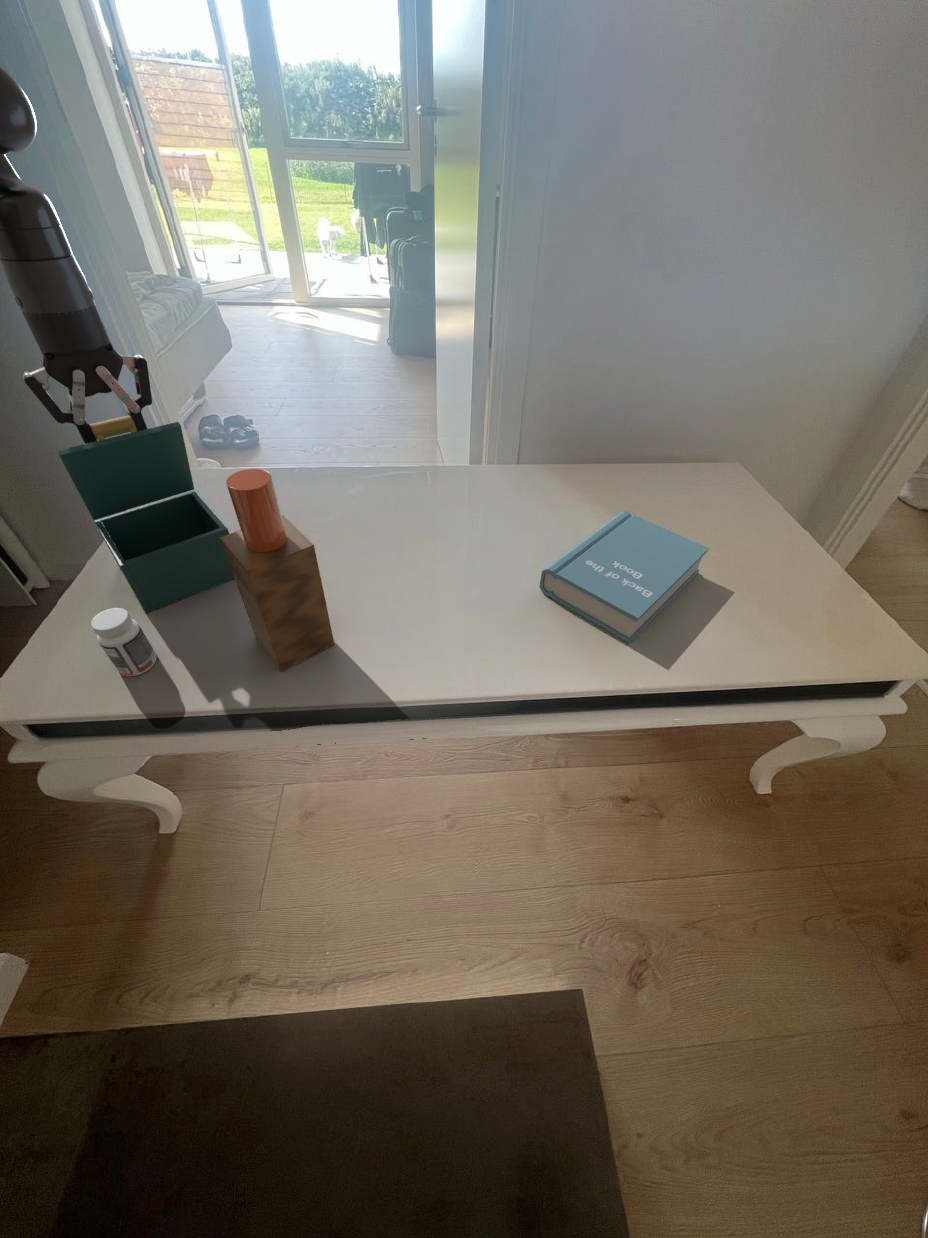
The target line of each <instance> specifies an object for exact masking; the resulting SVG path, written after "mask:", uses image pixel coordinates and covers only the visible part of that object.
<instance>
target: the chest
mask: <svg viewBox="0 0 928 1238" xmlns="http://www.w3.org/2000/svg"><path fill="white" fill-rule="evenodd" d="M93 522H94V524H95V525H96V527H97V529H98V532H99V533H100V535H101V536H102V538H103V540H104V542H105V544H106V545H107V548H108V549H109V551H110V553H111V555H112V556H113V559H114V560H115V563H116V564H117V566H118V568H119V570H120V571H121V573H122V575H123V577H124V578H125V580H126V582H127V584H128V585H129V587H130V589H131V591H132V592H133V594H134V596H135V598H136V599H137V601H138V603H139V604H140V606H141V608H142V610H143V612H144V613H145V614H146V615H147V614H149V613H152V612H154V611H157V610H159V609H161V608H164V607H166V606H169V605H172V604H174V603H177V602H180V601H182V600H184V599H187V598H190V597H192V596H194V595H197V594H199V593H202V592H204V591H206V590H210V589H212V588H214V587H217V586H220V585H222V584H224V583H226V582H229V581H231V580H235V579H234V577H233V574H232V571H231V568H230V565H229V563H228V560H227V557H226V554H225V551H224V549H223V546H222V543H221V540H220V537H222V536H225V535H228V534H230V532H229V529H228V527H227V526H226V525H225V523H223V521H222V520H221V519H220V518H219V517H218V516H217V514H215V512H214V511H213V510H212V508H210V506H208V504H207V503H206V502H205V500H203V499H202V497H201V496H200V495H199V494H198V493H197V492H196V490H191V491H188V492H185V493H181V494H178V495H175V496H171V497H168V498H165V499H162V500H158V501H155V502H152V503H148V504H145V505H142V506H139V507H135V508H132V509H129V510H125V511H122V512H119V513H116V514H112V515H109V516H106V517H102V518H99V519H96V520H93Z"/></svg>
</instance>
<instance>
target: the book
mask: <svg viewBox="0 0 928 1238" xmlns="http://www.w3.org/2000/svg"><path fill="white" fill-rule="evenodd" d="M709 548H710V547H707V546H705V545H703V544H701V543H698V542H696V541H694V540H692V539H689V538H687V537H685V536H683V535H680V534H679V533H676V532H674V531H671V530H670V529H666V528H665V527H662V526H660V525H658V524H655V523H654V522H651V521H649V520H647V519H644V518H642V517H640V516H637V515H635V514H633V515H632V514H631V512H628V511H627V510H625V511H622V512H619V513H618V514H616V515H615V516H614V517H613V518H610V520H608V521H607V522H606V523H604V524H603V525H602V526H601V527H599V528H598V529H597V530H595V531H594V532H592V533H590V534H589V535H588V536H587V537H585V538H584V539H583V540H582V541H580V542H579V543H578V544H576V545H575V546H573V547H571V549H570V550H568V551H567V552H565V553H564V554H563V555H561V556H560V557H558V558H557V559H555V560H554V561H553V562H552V563H551V564H549V565H548V566H546V567H545V568H544V569H542V570H541V575H540V581H539V586H538V587H539V589H540V591H541V592H542V594H543V595H544V596H546V597H547V598H549V597H550V598H551V600H552V601H554V602H556V603H558V604H560V605H561V606H563V607H565V608H567V609H569V610H570V611H572V612H573V613H575V614H577V615H578V616H580V617H582V618H584V619H586V620H587V621H589V622H591V623H592V624H594V625H596V626H597V627H599V628H601V629H603V630H605V631H606V632H608V633H609V634H611V635H613V636H615V637H616V638H618V639H620V640H622V641H624V642H626V643H627V644H630V643H631V642H632V641H633V640H634V639H635V638H636V637H637V636H638V635H639V634H640V633H641V632H642V631H643V630H644V629H645V628H646V627H647V626H648V625H649V624H650V623H651V622H652V620H654V618H656V616H657V615H658V614H660V612H661V611H663V609H664V608H665V607H667V605H669V603H670V602H671V601H672V600H674V599H675V597H676V596H677V595H678V594H679V593H680V592H681V591H683V589H684V588H685V587H686V586H687V585H688V584H689V583H690V582H691V581H692V580H693V579H694V578H695V577H696V576H697V575H698V574H699V572H700V570H701V569H700V568H699V566H700V564H701V562H702V559H703V557H704V556H705V555H706V554H707V553H708V552H709Z"/></svg>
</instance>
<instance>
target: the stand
mask: <svg viewBox="0 0 928 1238" xmlns="http://www.w3.org/2000/svg"><path fill="white" fill-rule="evenodd" d="M281 516H282V520H283V524H284V528H285V532H286V537H287V540H286V543H285V544H284V545H283V546H282V547H280V548H279V549H277V550H274V551H271V552H265V553H259V552H254V551H251V550H250V549H248V548H247V546H246V544H245V541H244V538H243V534H242V531H241V529H239V530H237V531H234V532H231V533H229V534H228V535H225V536H222V537H220V540H221V543H222V546H223V549H224V551H225V554H226V557H227V560H228V563H229V565H230V568H231V571H232V574H233V577H234V579H233V580H234V583H235V585H236V587H237V591H238V593H239V596H240V598H241V602H242V604H243V607H244V610H245V613H246V616H247V619H248V621H249V624H250V627H251V629H252V632H253V635H254V638H255V640H256V641H257V642H258V643H259V645H260V646H261V647H262V649H263V650H264V652H265V653H266V654H267V655H268V657H269V658H270V660H271V661H272V662H273V664H274V665H275V666H276V668H277V669H278V671H279V672H280V673H283V672H284V671H286V670H289V669H291V668H292V667H294V666H296V665H298V664H300V663H303V662H304V661H306V660H308V659H310V658H312V657H313V656H316V655H317V654H320V653H322V652H324V651H326V650H328V649H329V648H331V647H333V646H335V640H334V634H333V631H332V624H331V620H330V615H329V611H328V606H327V602H326V601H327V600H326V596H325V591H324V585H323V582H322V576H321V571H320V567H319V562H318V559H317V553H316V547H315V544H314V543H312V541H311V540H310V539H308V538H307V537H306V536H305V535H304V534H303V533H302V532H301V530H299V529H298V528H297V526H295V525H294V524H293V523H292V522H291V521H290V520H289V519H288V518H287V517H286V516H285V515H284V514H281Z"/></svg>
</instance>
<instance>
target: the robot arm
mask: <svg viewBox="0 0 928 1238" xmlns="http://www.w3.org/2000/svg"><path fill="white" fill-rule="evenodd" d="M36 135H37V119H36V114H35V111H34V108H33V106H32V104H31V102H30V100H29V98H28V95H27V94H26V93H25V91H24V89H22V87H21V85H20V84H19V83H18V82H17V80H16V79H15V78H14V77H13V76H12V75H11V74H10V73H9V72H8V71H7V70H6V69H5V68H3V67H2V66H1V65H0V265H1V268H2V270H3V273H4V277H5V280H6V282H7V284H8V287H9V289H10V291H11V293H12V295H13V297H14V301H15V302H16V304H17V305H18V307H19V309H20V311H21V313H22V316H23V318H24V319H25V322H26V324H27V326H28V327H29V330H30V332H31V334H32V336H33V338H34V340H35V342H36V345H37V346H38V349H39V350H40V353H41V354H42V358H43V360H42V361H43V362H42V367H40V368H38V369H36V370H33V371H27V370H25V371H23V372H22V373H21V378H22V379H23V381H24V383H25V384H26V386H27V387H28V388H29V389H30V391H31V392H32V393H33V394H34V396H35V397H36V398H37V399H38V401H39V402H40V403H41V404H42V405H43V407H44V408H45V409H46V410H47V412H48V413H49V414H50V415H51V416H52V418H53V419H54V420H55V421H56V423H58V424H62V425H63V424H66V423H67V424H73V425H74V426H75V427H76V429H77V431H78V433H79V435H80V437H81V439H82V442H83V443H84V444H87V443H91V442H95V441H98V440H96V438H95V435H94V433H93V431H92V429H91V427H90V425H89V424H90V423H89V422H88V420H87V419H86V398H89V397H93V396H95V395H97V394H108V393H114V394H115V395H116V396H117V397H118V398H119V399H120V401H121V402H122V403H123V404H124V405H125V406H126V408H127V409H125V410H126V413H127V416H128V415H130V416H131V418H132V419H133V421H134V424H135V426H136V429H137V431H141V430H145V429H148V426H147V424H146V421H145V419H144V417H143V414H142V411H143V409H144V408H145V407H147V406H152V404H153V397H152V389H151V381H150V375H149V367H148V362H147V360H146V359H145V358H144V357H143V356H142V355H140V353H132V354H131V355H127V354H121V353H119V352H118V351H117V350H116V349H115V347H114V345H113V343H112V341H111V338H110V336H109V334H108V331H107V329H106V326H105V324H104V321H103V318H102V315H101V313H100V311H99V309H98V306H97V303H96V301H95V296H94V293H93V291H92V289H91V288H90V286H89V284H88V281H87V279H86V276H85V274H84V272H83V271H82V269H81V267H80V265H79V263H78V261H77V260H76V257H75V255H74V253H73V250H72V247H71V245H70V243H69V240H68V238H67V235H66V233H65V230H64V228H63V225H62V223H61V221H60V218H59V215H58V212H57V211H56V209H55V207H54V205H53V203H52V201H51V200H50V199H49V197H48V196H47V195H46V194H45V193H44V192H43V191H41V190H39V189H38V188H36V187H33V186H31V185H29V184H27V183H25V182H24V181H23V180H22V179H21V178H20V176H19V175H18V173H17V171H16V170H15V168H14V167H13V165H12V163H11V162H10V159H8V157H7V155H17V154H20V153H23V152H24V151H26V150H27V149H28V148H30V147H31V146H32V145H33V143H34V141H35V139H36ZM123 365H125V366H126V367H127V369H128V371H129V372H130V373H131V374H133V377H134V384H135V389H136V394H135V395H134V396H131V395H130V394H129V393H128V392H127V391H126V389H125V388H123V386H122V385H121V384H120V383H119V379H120V376H121V372H122V369H123ZM49 378H52V379H53V380H55V381H56V382H58V383H59V384H61V385H63V386H64V387H65V388H67V398H68V407H69V408H68V409H62V408H61V407H60V406H59V405H58V404H57V403H56V401H55V400H54V399H53V397H52V396H51V395H50V394H49V392H48V390H49V389H50V384H49V383H50V382H49Z"/></svg>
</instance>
